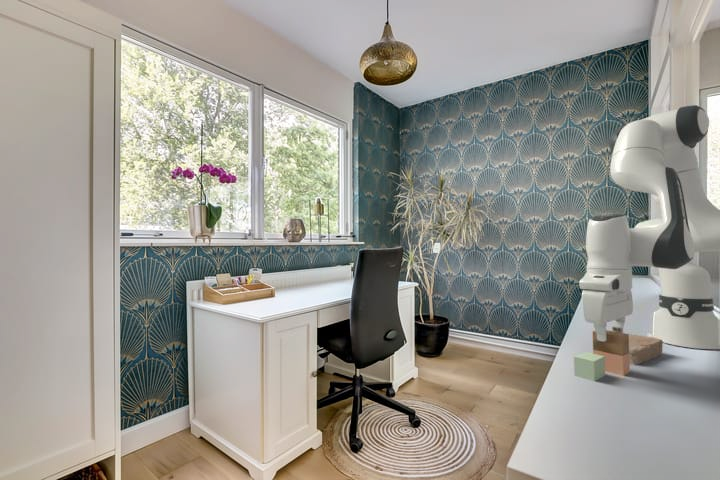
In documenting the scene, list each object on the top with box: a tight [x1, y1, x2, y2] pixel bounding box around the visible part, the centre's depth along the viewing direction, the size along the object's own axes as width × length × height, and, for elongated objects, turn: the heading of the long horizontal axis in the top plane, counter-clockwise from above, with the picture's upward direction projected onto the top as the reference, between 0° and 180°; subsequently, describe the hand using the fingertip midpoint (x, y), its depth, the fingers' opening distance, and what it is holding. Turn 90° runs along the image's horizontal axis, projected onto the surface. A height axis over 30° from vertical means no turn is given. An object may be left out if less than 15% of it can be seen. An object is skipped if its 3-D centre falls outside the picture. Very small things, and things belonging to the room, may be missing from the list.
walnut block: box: [592, 329, 630, 356], centre depth 80 cm, size 6×4×4 cm, turn 35°
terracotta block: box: [592, 349, 631, 377], centre depth 80 cm, size 6×4×4 cm, turn 34°
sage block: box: [573, 351, 606, 382], centre depth 77 cm, size 6×4×4 cm, turn 124°
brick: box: [628, 333, 664, 366], centre depth 90 cm, size 17×8×5 cm, turn 120°
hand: (610, 337), depth 80 cm, fingers open, 8 cm apart
